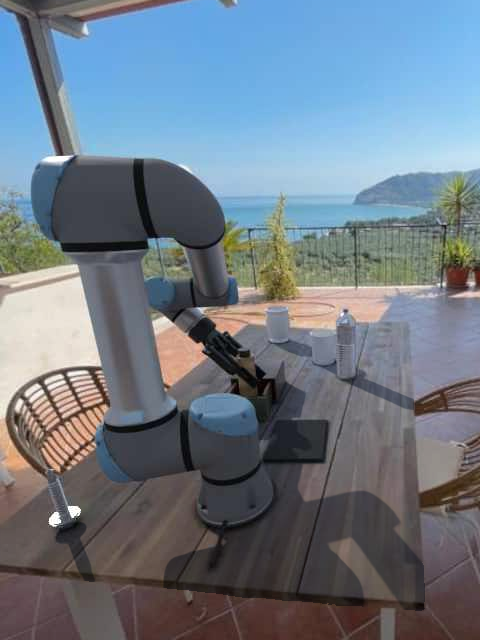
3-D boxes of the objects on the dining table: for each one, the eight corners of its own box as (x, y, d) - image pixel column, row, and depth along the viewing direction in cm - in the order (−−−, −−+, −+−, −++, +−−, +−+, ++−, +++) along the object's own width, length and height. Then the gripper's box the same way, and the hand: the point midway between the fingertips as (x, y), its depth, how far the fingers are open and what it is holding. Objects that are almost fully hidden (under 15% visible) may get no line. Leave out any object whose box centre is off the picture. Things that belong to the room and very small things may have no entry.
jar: (263, 343, 172) (260, 310, 166) (272, 336, 181) (269, 304, 176) (286, 345, 170) (284, 311, 164) (294, 337, 179) (292, 305, 174)
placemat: (322, 461, 94) (322, 458, 94) (264, 461, 94) (263, 459, 93) (326, 421, 111) (326, 419, 110) (277, 422, 110) (277, 419, 110)
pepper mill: (256, 410, 113) (250, 352, 106) (239, 410, 113) (232, 352, 106) (260, 401, 117) (255, 345, 111) (244, 401, 117) (237, 346, 111)
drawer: (264, 427, 106) (262, 405, 104) (218, 427, 106) (215, 406, 103) (277, 395, 124) (275, 376, 121) (237, 396, 123) (235, 376, 121)
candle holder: (341, 360, 154) (340, 331, 150) (326, 368, 146) (325, 338, 142) (321, 355, 159) (320, 327, 154) (306, 362, 151) (304, 333, 147)
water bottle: (353, 381, 136) (353, 312, 127) (334, 379, 137) (333, 310, 128) (357, 373, 142) (357, 306, 133) (339, 371, 143) (338, 305, 134)
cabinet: (277, 403, 121) (275, 378, 118) (233, 403, 121) (230, 378, 117) (285, 381, 135) (283, 358, 132) (246, 381, 135) (243, 359, 132)
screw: (88, 514, 78) (73, 533, 73) (62, 515, 77) (46, 535, 73) (70, 460, 73) (53, 477, 69) (43, 461, 73) (24, 478, 68)
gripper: (203, 324, 116) (261, 376, 121) (171, 344, 100) (241, 403, 104) (218, 307, 114) (277, 360, 119) (188, 325, 97) (258, 386, 102)
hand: (260, 380), depth 112 cm, fingers closed on pepper mill, 5 cm apart
